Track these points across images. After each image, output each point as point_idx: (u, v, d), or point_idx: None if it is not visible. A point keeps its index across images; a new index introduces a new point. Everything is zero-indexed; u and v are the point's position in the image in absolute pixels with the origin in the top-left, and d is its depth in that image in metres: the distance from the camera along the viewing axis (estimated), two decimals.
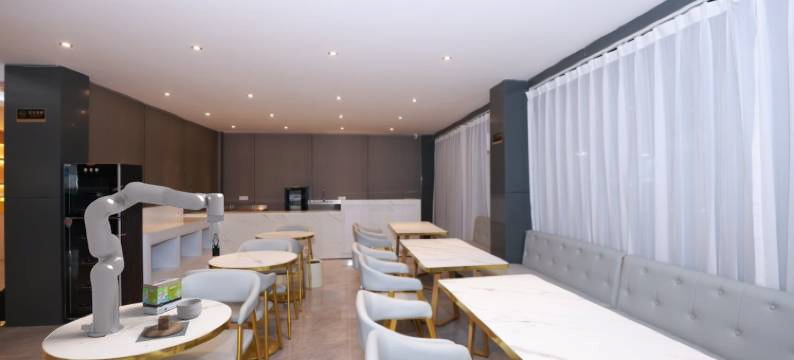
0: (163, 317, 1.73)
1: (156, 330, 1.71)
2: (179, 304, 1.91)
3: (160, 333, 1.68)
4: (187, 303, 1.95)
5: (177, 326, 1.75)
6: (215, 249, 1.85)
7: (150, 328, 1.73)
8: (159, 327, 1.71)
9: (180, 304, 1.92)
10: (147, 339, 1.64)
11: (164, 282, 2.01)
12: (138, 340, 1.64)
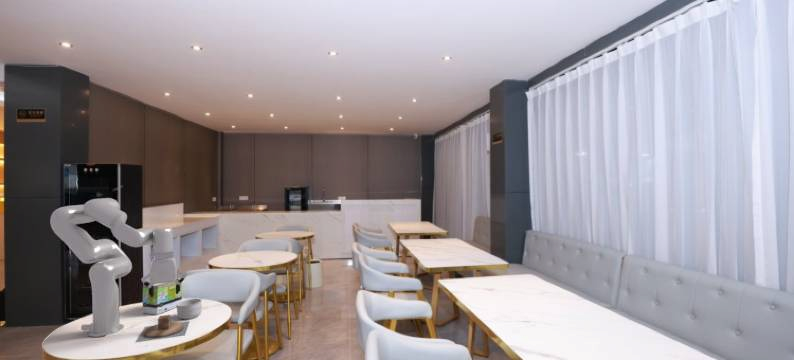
0: (163, 317, 1.73)
1: (156, 330, 1.71)
2: (179, 304, 1.91)
3: (160, 332, 1.68)
4: (187, 303, 1.95)
5: (177, 326, 1.75)
6: (179, 286, 1.75)
7: (150, 328, 1.73)
8: (159, 327, 1.71)
9: (180, 304, 1.92)
10: (147, 339, 1.64)
11: None
12: (138, 340, 1.64)
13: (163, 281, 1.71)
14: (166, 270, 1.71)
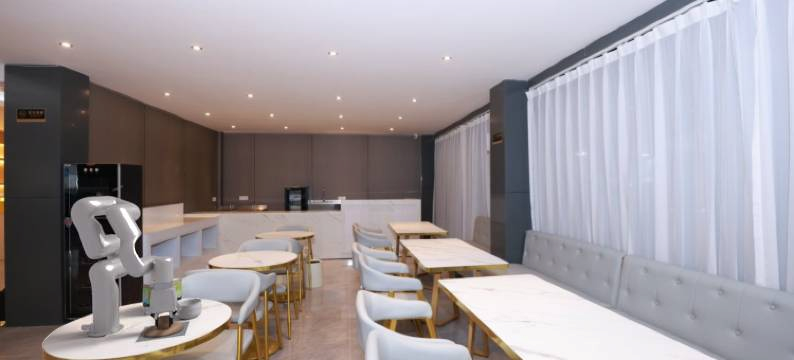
0: (163, 317, 1.73)
1: (156, 330, 1.71)
2: (179, 304, 1.91)
3: (160, 332, 1.68)
4: (187, 303, 1.95)
5: (177, 326, 1.75)
6: (172, 318, 1.74)
7: (150, 328, 1.73)
8: (159, 327, 1.71)
9: (180, 304, 1.92)
10: (147, 339, 1.64)
11: None
12: (138, 340, 1.64)
13: (163, 311, 1.71)
14: (166, 300, 1.71)
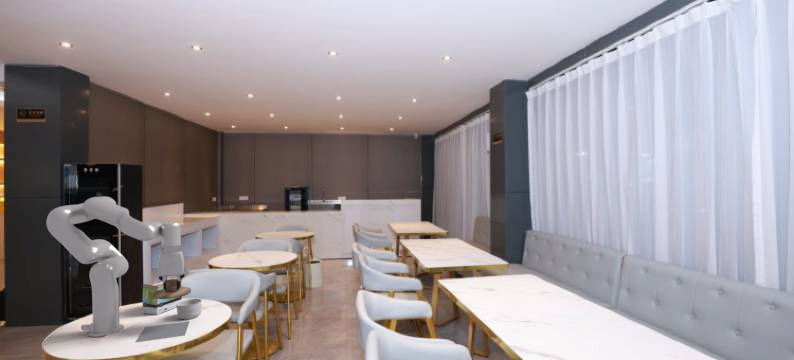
0: (171, 280, 1.78)
1: (164, 292, 1.76)
2: (179, 304, 1.91)
3: (167, 294, 1.73)
4: (187, 303, 1.95)
5: (184, 290, 1.80)
6: (180, 282, 1.79)
7: (159, 291, 1.78)
8: (167, 290, 1.76)
9: (180, 304, 1.92)
10: (147, 339, 1.64)
11: None
12: (138, 340, 1.64)
13: (170, 274, 1.76)
14: (173, 263, 1.76)
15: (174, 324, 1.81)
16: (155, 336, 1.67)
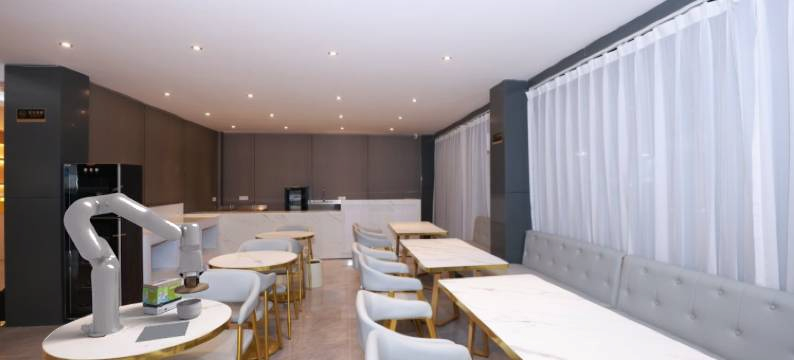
0: (191, 277, 1.92)
1: (184, 288, 1.90)
2: (179, 304, 1.91)
3: (188, 290, 1.87)
4: (187, 303, 1.95)
5: (203, 285, 1.94)
6: None
7: (179, 287, 1.92)
8: (187, 285, 1.90)
9: (180, 304, 1.92)
10: (147, 339, 1.64)
11: (164, 282, 2.01)
12: (138, 340, 1.64)
13: (190, 271, 1.90)
14: (193, 261, 1.90)
15: (174, 324, 1.81)
16: (155, 336, 1.67)
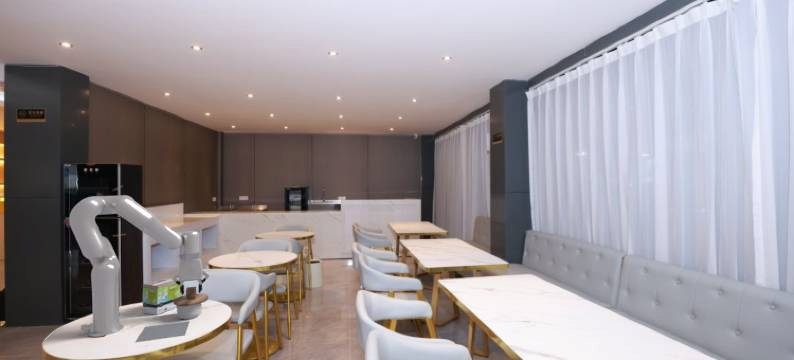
0: (190, 288, 1.92)
1: (184, 299, 1.90)
2: None
3: (188, 301, 1.87)
4: None
5: (202, 297, 1.94)
6: (201, 285, 1.94)
7: (178, 298, 1.92)
8: (187, 297, 1.90)
9: None
10: (147, 339, 1.64)
11: (164, 282, 2.01)
12: (138, 340, 1.64)
13: (190, 279, 1.90)
14: (193, 269, 1.90)
15: (174, 324, 1.81)
16: (155, 336, 1.67)
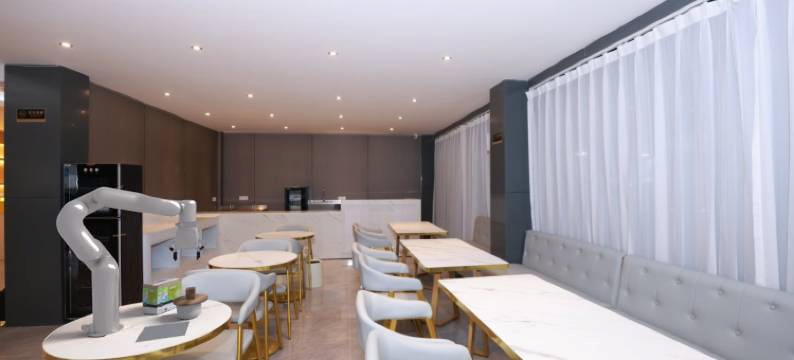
0: (190, 288, 1.91)
1: (183, 299, 1.90)
2: None
3: (187, 301, 1.87)
4: None
5: (202, 297, 1.94)
6: None
7: (178, 298, 1.92)
8: (186, 297, 1.90)
9: None
10: (147, 339, 1.64)
11: (164, 282, 2.01)
12: (138, 340, 1.64)
13: (186, 247, 1.92)
14: (189, 238, 1.92)
15: (174, 324, 1.81)
16: (155, 336, 1.67)
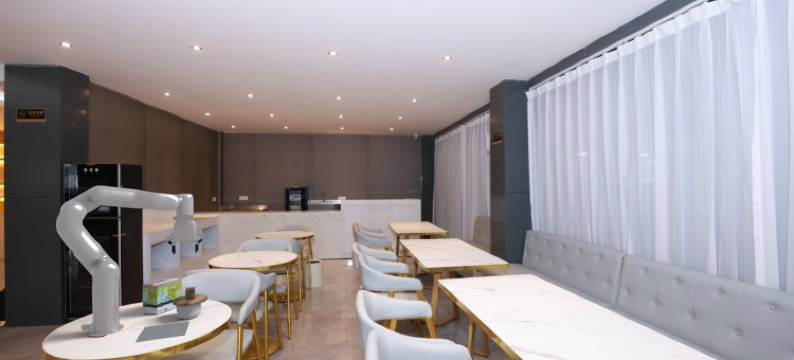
0: (189, 288, 1.91)
1: (183, 300, 1.89)
2: None
3: (187, 302, 1.87)
4: None
5: (202, 297, 1.94)
6: (198, 246, 1.99)
7: (178, 298, 1.92)
8: (186, 297, 1.89)
9: None
10: (147, 339, 1.64)
11: (164, 282, 2.01)
12: (138, 340, 1.64)
13: (184, 240, 1.94)
14: (187, 231, 1.94)
15: (174, 324, 1.81)
16: (155, 336, 1.67)
